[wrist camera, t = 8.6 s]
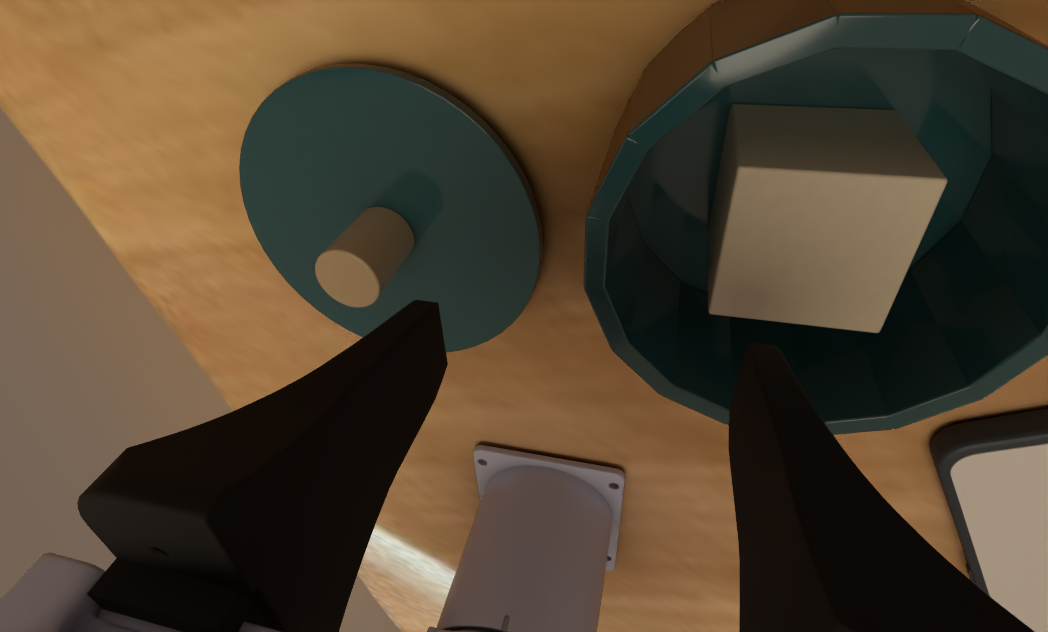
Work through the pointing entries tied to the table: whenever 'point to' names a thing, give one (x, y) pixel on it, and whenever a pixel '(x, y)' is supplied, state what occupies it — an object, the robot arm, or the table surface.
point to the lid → (390, 202)
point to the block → (817, 214)
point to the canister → (944, 251)
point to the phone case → (1001, 506)
